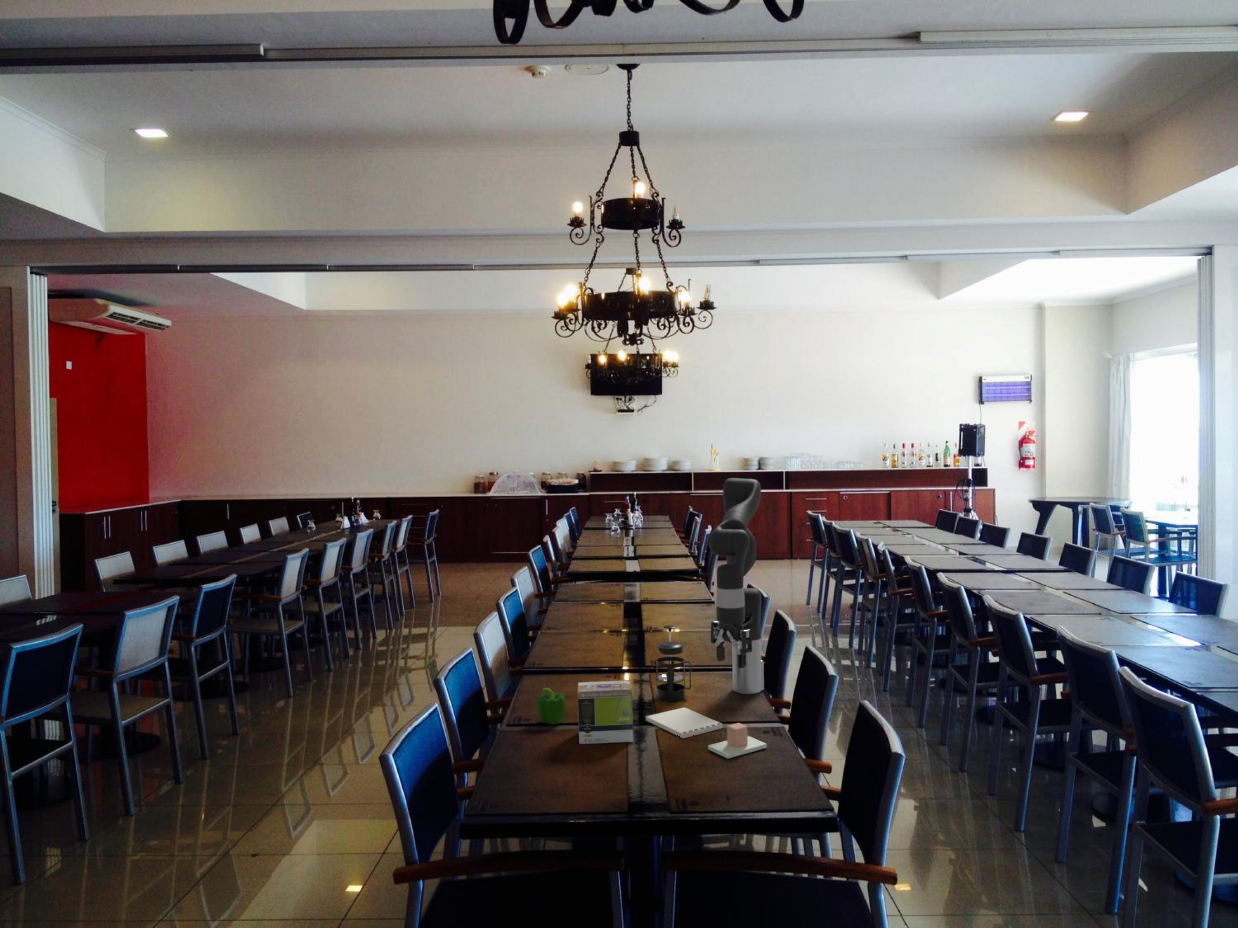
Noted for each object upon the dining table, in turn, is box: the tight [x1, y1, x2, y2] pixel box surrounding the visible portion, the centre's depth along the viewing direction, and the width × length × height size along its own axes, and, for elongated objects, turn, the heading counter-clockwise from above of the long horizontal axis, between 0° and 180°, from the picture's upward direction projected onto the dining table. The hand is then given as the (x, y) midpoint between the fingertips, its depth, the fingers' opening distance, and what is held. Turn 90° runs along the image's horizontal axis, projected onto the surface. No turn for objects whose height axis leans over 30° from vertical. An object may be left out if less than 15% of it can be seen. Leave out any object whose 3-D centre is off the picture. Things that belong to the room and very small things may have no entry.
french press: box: [655, 624, 692, 703], centre depth 274 cm, size 12×9×23 cm
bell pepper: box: [536, 687, 567, 725], centre depth 254 cm, size 8×8×10 cm
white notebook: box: [645, 707, 724, 739], centre depth 250 cm, size 18×14×1 cm
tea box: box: [577, 679, 634, 745], centre depth 240 cm, size 15×10×15 cm
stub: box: [707, 722, 768, 759], centre depth 229 cm, size 8×13×6 cm, turn 122°
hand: (731, 663), depth 231 cm, fingers open, 8 cm apart
